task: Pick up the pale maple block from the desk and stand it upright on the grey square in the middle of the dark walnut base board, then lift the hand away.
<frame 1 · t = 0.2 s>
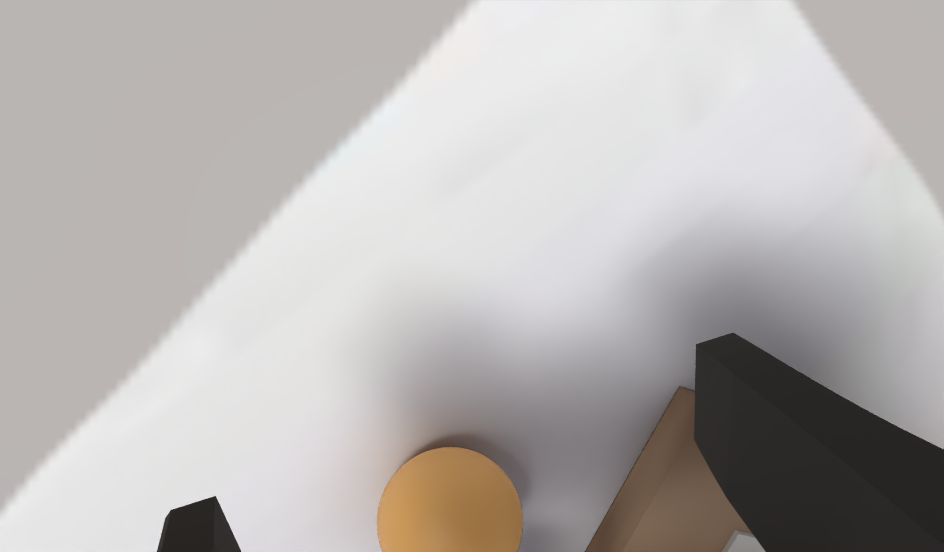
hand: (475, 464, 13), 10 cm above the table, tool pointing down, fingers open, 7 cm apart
figurine: (423, 501, 26), on the table
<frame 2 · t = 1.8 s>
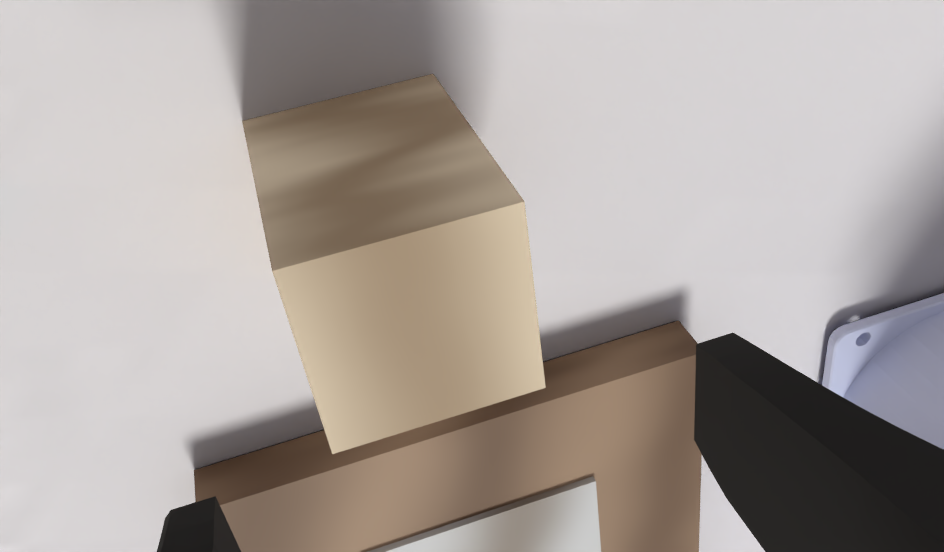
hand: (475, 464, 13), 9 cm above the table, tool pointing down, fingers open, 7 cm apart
maple block: (359, 181, 20), on the table
walnut base: (479, 549, 28), on the table
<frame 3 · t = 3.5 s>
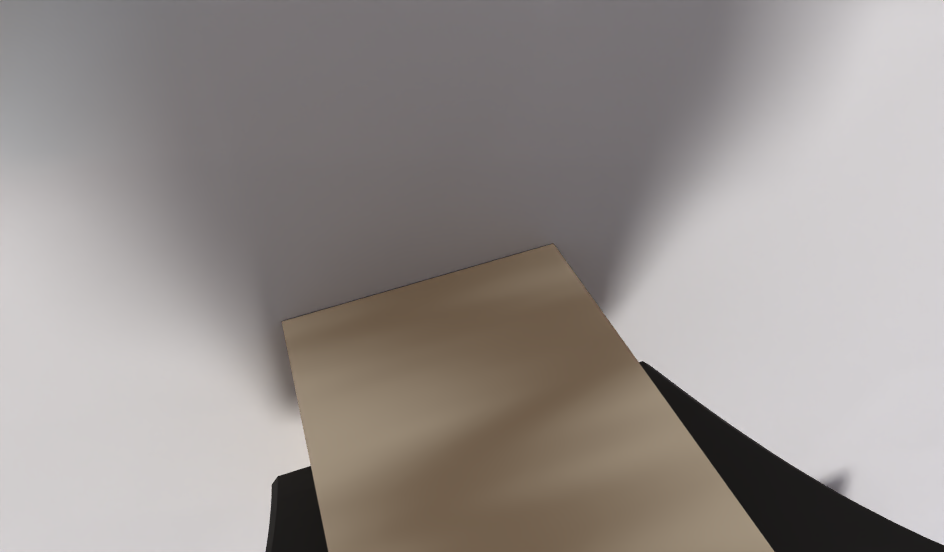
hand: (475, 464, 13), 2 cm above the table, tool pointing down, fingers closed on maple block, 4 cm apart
maple block: (442, 384, 14), on the table, touching gripper
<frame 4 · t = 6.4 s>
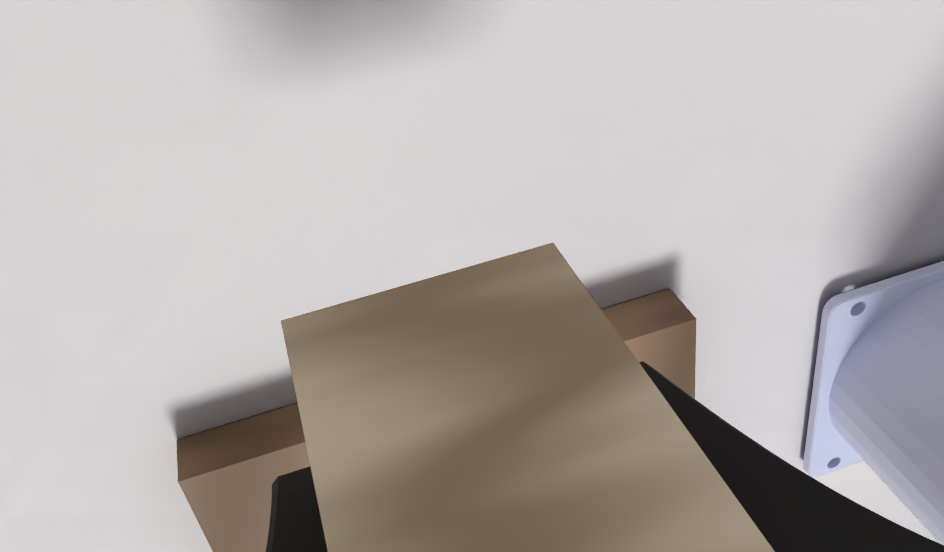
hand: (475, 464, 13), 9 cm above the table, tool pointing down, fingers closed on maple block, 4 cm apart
maple block: (442, 384, 14), point 8 cm above the table, touching gripper
walnut base: (470, 524, 28), on the table
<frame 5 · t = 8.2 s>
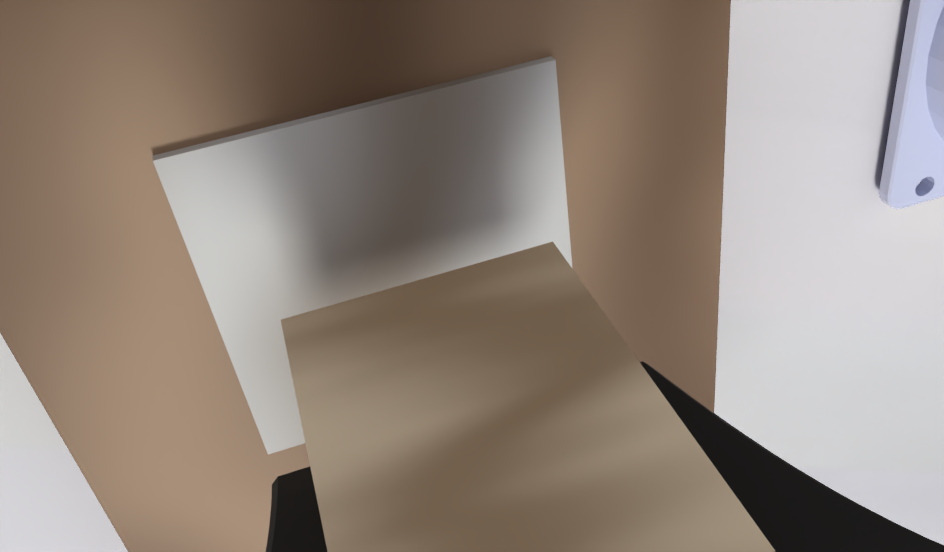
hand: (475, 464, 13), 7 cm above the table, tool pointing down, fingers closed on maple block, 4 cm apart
maple block: (441, 383, 14), point 5 cm above the table, touching gripper
walnut base: (380, 230, 18), on the table
when the fingers open (5 cm above the table, at t = 9.5 s): maple block stays where it is, resting on walnut base.
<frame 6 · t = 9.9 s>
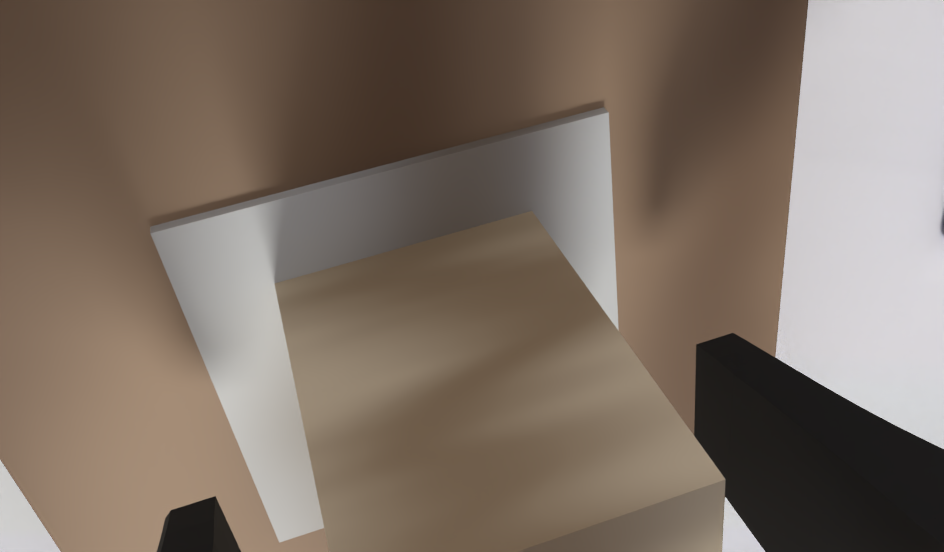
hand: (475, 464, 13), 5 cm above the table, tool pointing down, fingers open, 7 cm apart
maple block: (428, 347, 15), point 2 cm above the table, touching walnut base
walnut base: (404, 293, 16), on the table
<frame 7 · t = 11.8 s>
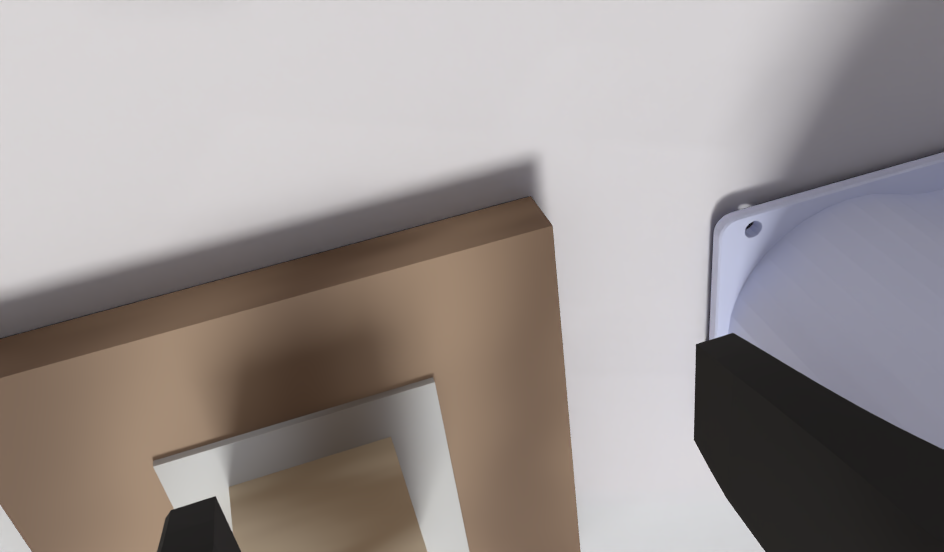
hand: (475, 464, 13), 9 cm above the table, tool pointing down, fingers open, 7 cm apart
maple block: (329, 514, 24), point 2 cm above the table, touching walnut base
walnut base: (319, 470, 25), on the table
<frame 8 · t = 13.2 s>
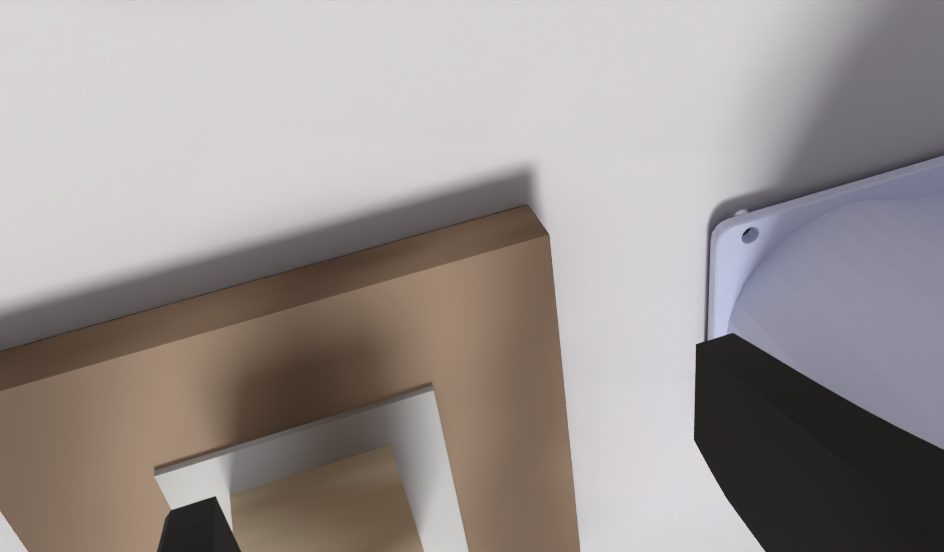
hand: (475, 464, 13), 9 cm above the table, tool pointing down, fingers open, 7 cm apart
maple block: (330, 522, 24), point 2 cm above the table, touching walnut base
walnut base: (320, 477, 25), on the table
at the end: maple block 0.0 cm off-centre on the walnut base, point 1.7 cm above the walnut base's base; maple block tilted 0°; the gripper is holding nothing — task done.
